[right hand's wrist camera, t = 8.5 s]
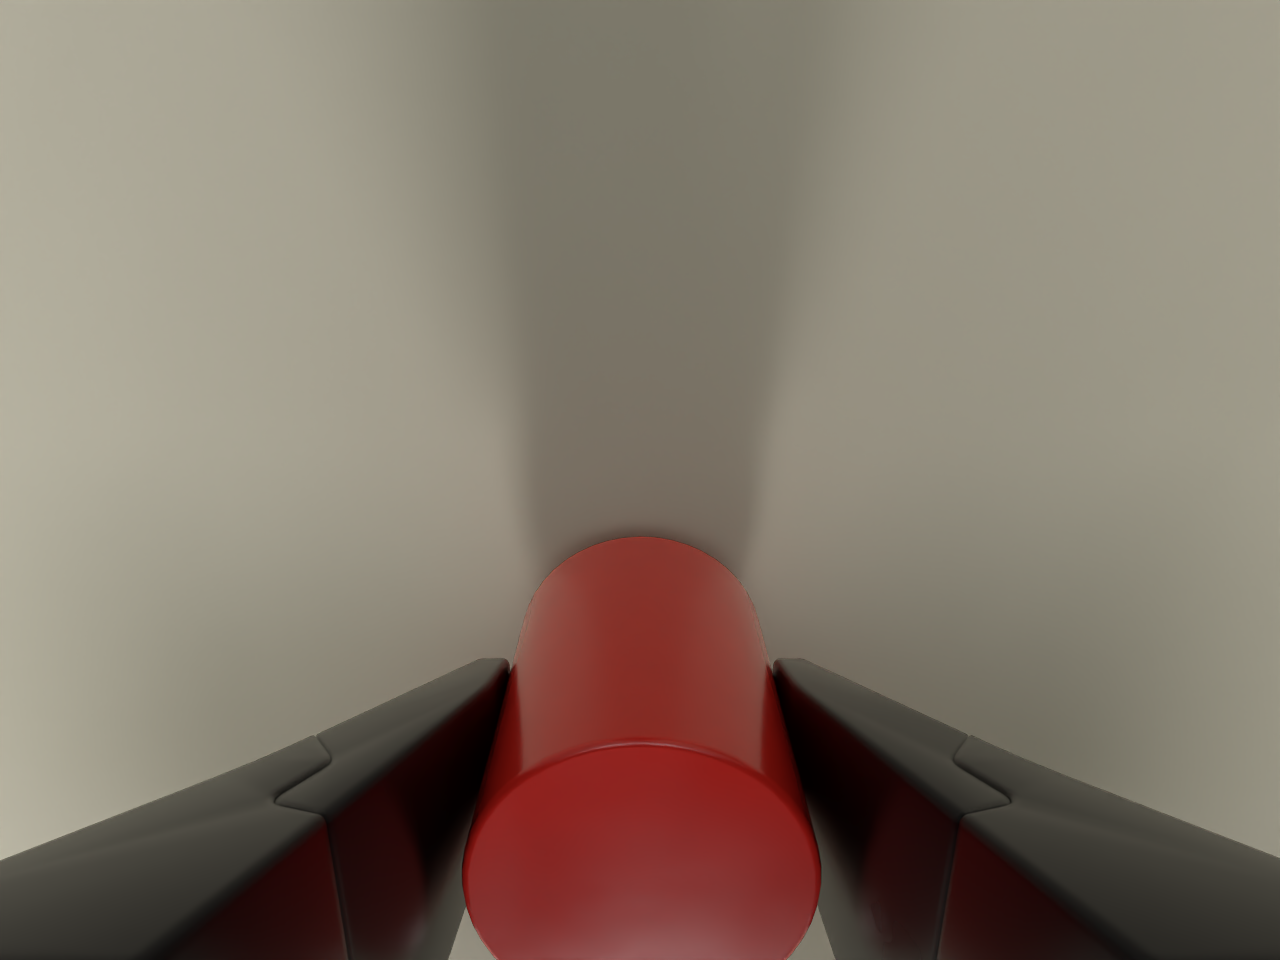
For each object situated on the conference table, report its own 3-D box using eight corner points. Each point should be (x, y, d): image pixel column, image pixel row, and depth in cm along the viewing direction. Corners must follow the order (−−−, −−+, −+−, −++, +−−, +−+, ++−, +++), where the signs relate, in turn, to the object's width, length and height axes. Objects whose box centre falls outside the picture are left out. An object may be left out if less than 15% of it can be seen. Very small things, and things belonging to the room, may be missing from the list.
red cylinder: (516, 534, 12) (444, 741, 8) (765, 533, 12) (837, 740, 8) (528, 741, 13) (474, 1022, 9) (754, 741, 13) (811, 1020, 9)
